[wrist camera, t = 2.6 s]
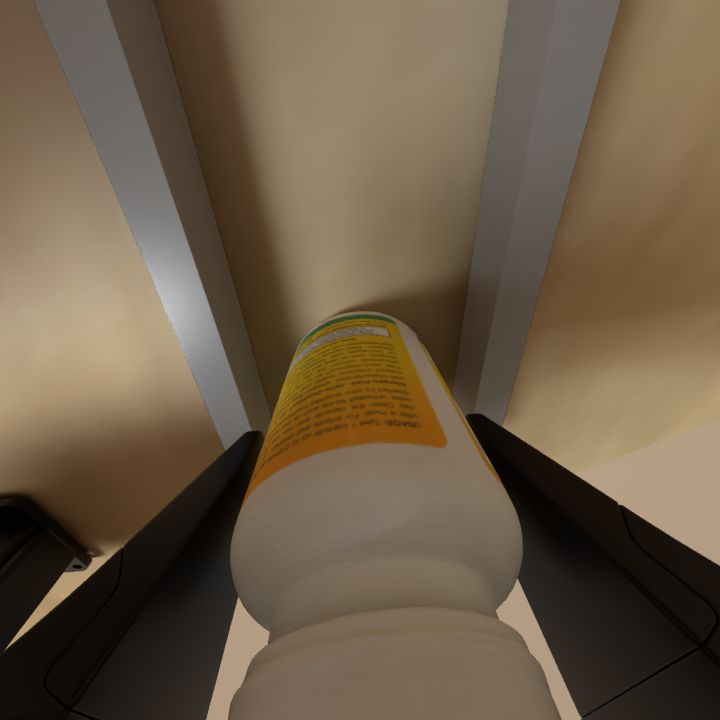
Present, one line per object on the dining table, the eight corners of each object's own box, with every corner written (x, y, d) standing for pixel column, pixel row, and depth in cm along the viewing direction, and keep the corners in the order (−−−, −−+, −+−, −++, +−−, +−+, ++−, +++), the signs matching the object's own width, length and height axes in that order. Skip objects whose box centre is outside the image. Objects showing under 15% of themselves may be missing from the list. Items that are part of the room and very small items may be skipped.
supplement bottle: (452, 354, 11) (803, 829, 3) (372, 436, 13) (426, 854, 5) (340, 275, 9) (317, 972, 1) (268, 385, 11) (50, 909, 3)
